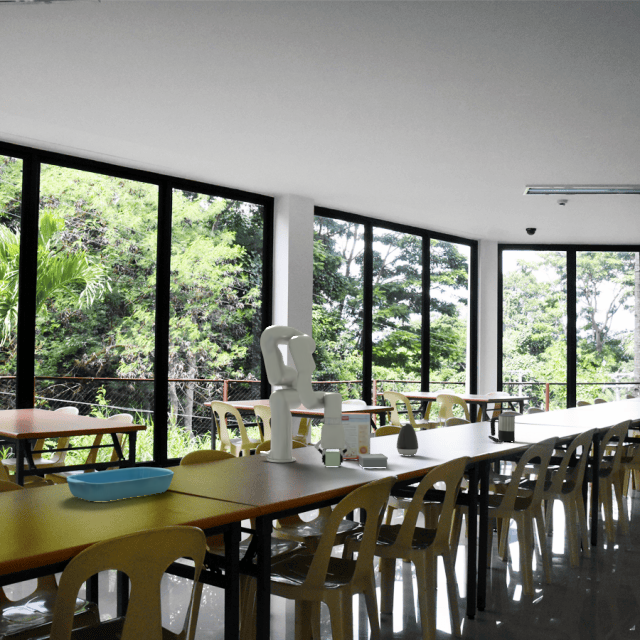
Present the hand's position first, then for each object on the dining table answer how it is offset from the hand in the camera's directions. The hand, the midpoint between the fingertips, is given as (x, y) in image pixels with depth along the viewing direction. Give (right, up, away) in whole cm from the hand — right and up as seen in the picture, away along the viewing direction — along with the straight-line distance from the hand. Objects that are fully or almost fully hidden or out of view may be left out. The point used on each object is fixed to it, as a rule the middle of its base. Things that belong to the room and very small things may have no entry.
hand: (332, 464), depth 289 cm
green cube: (0, -1, 0) cm, 1 cm away
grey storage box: (+17, -1, -1) cm, 17 cm away
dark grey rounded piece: (+36, -3, +33) cm, 49 cm away
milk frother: (+95, -7, +88) cm, 130 cm away
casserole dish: (-72, +2, -62) cm, 94 cm away
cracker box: (+10, -2, +19) cm, 22 cm away
